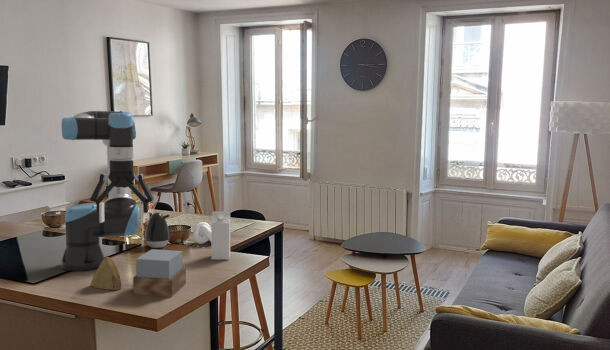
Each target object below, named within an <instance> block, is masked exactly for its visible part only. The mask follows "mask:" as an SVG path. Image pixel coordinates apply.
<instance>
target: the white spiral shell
mask: <svg viewBox="0 0 610 350" xmlns="http://www.w3.org/2000/svg"><path fill="white" fill-rule="evenodd" d="M192 237H193V240H194V242H195V243H197V244H199V245H203V244H205V243H207V242H210V243H211V224H209V223H207V222H205V221H200V222H199V223H197V224H196V225H195V226H194V227H193V231H192Z"/></svg>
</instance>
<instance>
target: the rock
mask: <svg viewBox="0 0 610 350" xmlns="http://www.w3.org/2000/svg"><path fill="white" fill-rule="evenodd" d="M89 286H90V287H93V288H95V289H102V290H111V291H118V290H121V289H122V281H121V276H120V272H119V270H118V267H117V266H116V263H115V262H114V260H113V258H112V257H109V256H107V255H106V256H104V260H103V261H102V262H101V264H100V265H99V268H96V271H95V273H94V275H93V277H92V279H91V283H90V285H89Z"/></svg>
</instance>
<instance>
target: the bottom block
mask: <svg viewBox="0 0 610 350" xmlns="http://www.w3.org/2000/svg"><path fill="white" fill-rule="evenodd" d="M132 277H133V278H132V281H133V285H132V287H133V292H132V293H133V295H141V296H155V297H168V298H169V297H170V298H173V296H175V295H176V294H177V293H178V292H179V291H180V290H181V289H182V288H183V287H184V286H185V285H186V284H187V267H182V269H181V270H180V271H178V272H177V273H176V274H175V275H174V276H172V277H171V278H170V279H160V278H145V277H137V274H136V275H134V276H132Z"/></svg>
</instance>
